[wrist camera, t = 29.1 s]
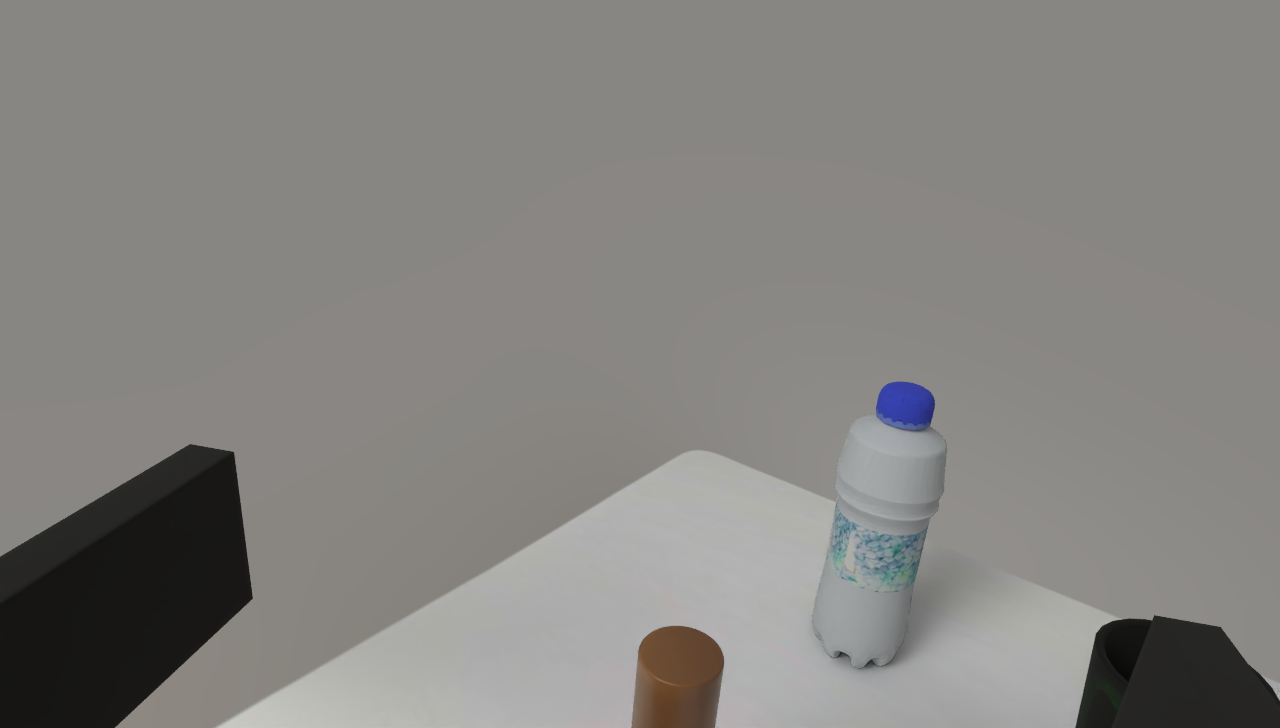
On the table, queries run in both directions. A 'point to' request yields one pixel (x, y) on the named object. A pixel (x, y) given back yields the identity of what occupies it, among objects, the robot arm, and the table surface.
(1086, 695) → the cup
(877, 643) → the bottle
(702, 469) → the table surface
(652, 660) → the wooden handled pestle
